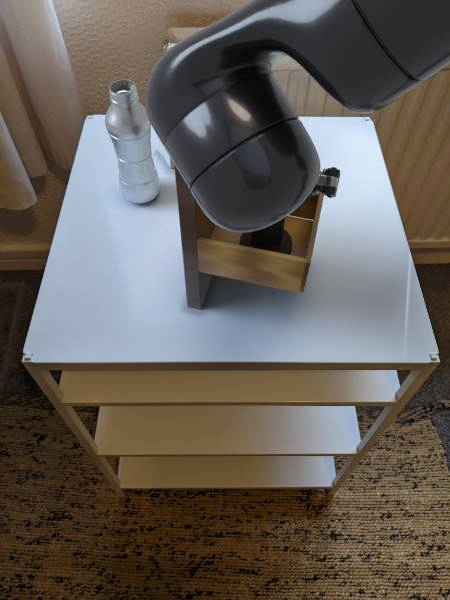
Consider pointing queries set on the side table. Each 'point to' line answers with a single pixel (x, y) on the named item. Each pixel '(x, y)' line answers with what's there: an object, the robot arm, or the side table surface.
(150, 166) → the plastic bottle
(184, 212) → the wooden drawer
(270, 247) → the hat
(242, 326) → the side table surface
